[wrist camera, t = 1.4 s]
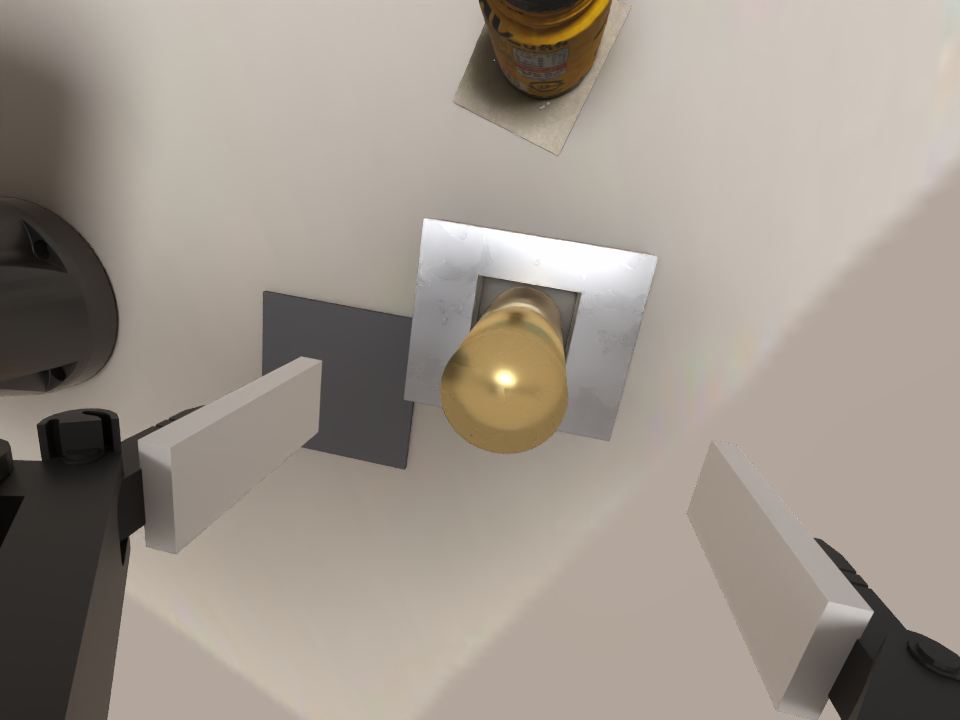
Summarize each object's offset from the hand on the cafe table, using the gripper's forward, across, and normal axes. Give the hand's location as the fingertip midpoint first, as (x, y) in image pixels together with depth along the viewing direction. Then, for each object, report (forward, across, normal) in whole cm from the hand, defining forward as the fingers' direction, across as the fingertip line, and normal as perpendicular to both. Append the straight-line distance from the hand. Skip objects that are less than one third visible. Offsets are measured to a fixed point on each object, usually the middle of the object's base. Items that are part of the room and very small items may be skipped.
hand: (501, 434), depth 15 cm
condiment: (+18, -2, +16) cm, 24 cm away
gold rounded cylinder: (+17, 0, 0) cm, 17 cm away
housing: (+17, 0, 0) cm, 17 cm away
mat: (+17, -14, -7) cm, 23 cm away
